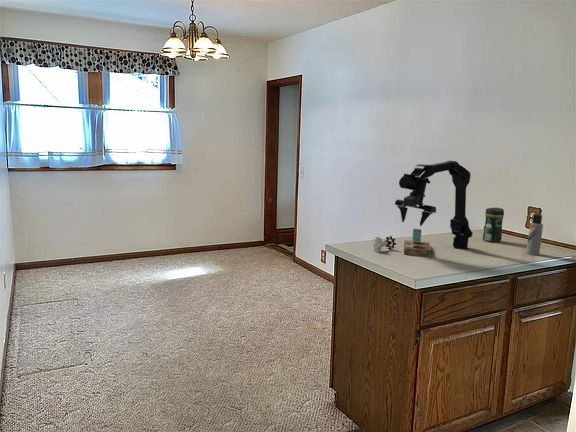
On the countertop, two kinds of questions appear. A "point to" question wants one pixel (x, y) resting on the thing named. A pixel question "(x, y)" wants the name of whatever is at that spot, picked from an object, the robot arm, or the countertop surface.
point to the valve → (382, 243)
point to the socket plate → (417, 248)
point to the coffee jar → (493, 224)
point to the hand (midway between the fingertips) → (411, 224)
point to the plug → (416, 235)
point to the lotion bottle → (535, 235)
